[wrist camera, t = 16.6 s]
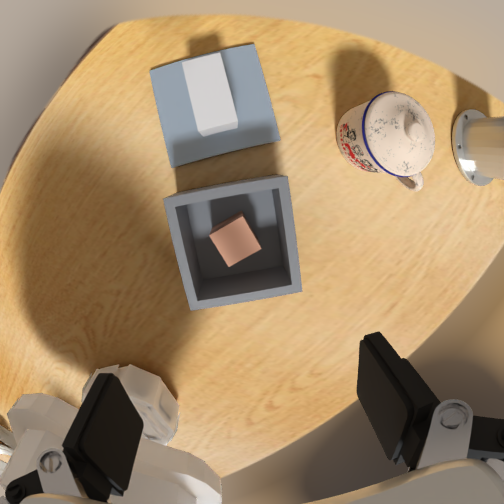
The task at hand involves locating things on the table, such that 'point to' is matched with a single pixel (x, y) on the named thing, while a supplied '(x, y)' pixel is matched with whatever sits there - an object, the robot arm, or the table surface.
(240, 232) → the block
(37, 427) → the white tiered tall piece
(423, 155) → the teacup with lid
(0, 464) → the portable electronic device stand
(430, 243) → the table surface
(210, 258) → the storage box
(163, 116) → the lid
